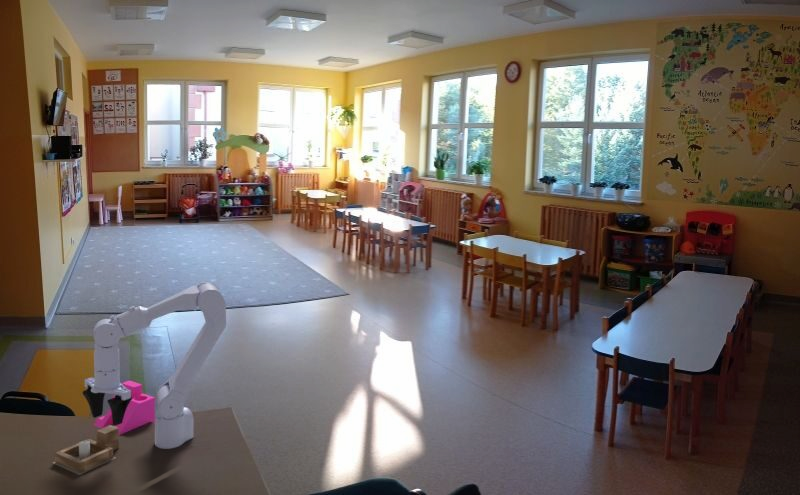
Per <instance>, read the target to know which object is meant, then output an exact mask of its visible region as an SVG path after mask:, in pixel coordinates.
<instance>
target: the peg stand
mask: <svg viewBox="0 0 800 495" xmlns="http://www.w3.org/2000/svg"><path fill="white" fill-rule="evenodd" d="M78 443H79V455H78V456H76V457H75V458H78V459H80V460H82V459H84V458H87V457H89V456H91V455H93V454H94V453H91V452H90V441H85V440H82V441H80V442H78ZM115 459H117V457H116V456H113V458H112V459H110V460H108V461H106V462H104V463H101V464H99V465H97V466H95V467H93V468H91V469H88V470H86V471H84V472H82V473H78V472H75V471H73V470H71V469H69V468H66V467H64V466H62V465H60V464H57V463H55V461H53V462H52V464H53V465H56V466H58V467H60V468H62V469H64V470H67V471H69V472H72V473H73V474H76V475H78V476H80V475H83V474H85V473H87V472H89V471H91V470H93V469H96V468H98V467H99V466H100V467H101V466H102V465H104V464H107V463H108V462H110V461H112V460H115Z"/></svg>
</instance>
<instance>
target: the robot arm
mask: <svg viewBox="0 0 800 495" xmlns="http://www.w3.org/2000/svg"><path fill="white" fill-rule="evenodd" d="M197 307H198V308H199V309H200V311H201V313H202V314H203V317H204V320H205V321H204V324H203V326H202V327H201V329H200V331H199V332H198V334H197V335H196V337H195V339H194V340H193V342H192V343H191V345H190V347H189V348H188V350H187V352H186V353H185V355H184V357H183V358H182V360H181V362H180V363H179V365H178V367H177V368H176V370H175V372H174V373H173V374H171V375H170V376H168V378H167V380H165V382H164V383H162V384H161V385H159V387H157V390H156V392H155V400H156V402H157V408H156V410H155V423H154V445H155V446H156V448H159V449H164V450H165V449H167V450H168V449H169V450H170V449H174V448H177V447H180V446H182V445H183V444H185V442H188V441H190V440H191V439H193V438H194V431H195V430H194V415H193V412H192V411H191V410H190V409H189V408H188V407H186V406H185V402H186V399H187V397H188V396H189V392H190V388H191V385H192V383H193V381H194V380H195V378H196V376H197V375H198V373H199V372H200V370H201V368H202V367H203V364H204V363H205V362H206V360H207V359H208V357H209V355H210V354H211V352H212V350H213V349H214V347H215V345H216V344H217V341H218V340H219V339H220V337H221V336H222V333H223V332H224V330H225V329H226V327H227V302H226V301H225V299H224V296H223V294H222V293H221V292H220V291H219V288H218V286H217V285H215V283H213V282H210V281H204V282H202V283H200V284H198V285H192V286H190V287H188V288H185V289H184V290H182V291H179V292H177V293H176V294H174V295H172V296H169V297H168V298H165V299H163V300H161V301H158V302H156V303H155V304H152V305H151V306H149V307H145V306H141V305H139V306H135V305H131V306H130V307H128V309H129V310H127V311H125V312H122V313H120V314H117V315H114V314H112V315H110V316H109V318H104V319H103V318H102V319H101V320H99V321H98V322H97V323H96V324H95V325H94V328H93V340H94V347H93V348H94V350H93V362H94V363H93V367H94V368H93V372H94V374H93V375H94V376H93V377H88V378H86V379H84V387H85V388H87V389H85V390H83V391H82V396H83V397H84V398H85V399H86V401H87V404H88V406H89V409H90V412H91V416H92V418H94V419H97V418H99V417H100V416H101V417H102V416H103V413H104V412H103V411H104V400H105V395H106V394H109V395H112V396H115V398H112V397H111V398H112V399H111V398H110V399H107V403H108V405H109V409H110V408H111V412H112V421H113V424H112V426H114V425H115V426H116V425H118V424H121V423H122V421H123V418H124V414H125V411H126V409H127V406H128V404H129V403H130V401H131V400H132V396H131V391H130V390H128V389H126V388H125V387H124V386H123V385H122V382H121V379H120V378H121V370H120V369H121V368H120V367H121V366H120V363H121V362H120V361H121V360H120V358H121V357H120V348H119V341H120V339H124V338H127V337H129V336H132V335H133V334H135V333H138V332H140V331H142V330H145V329H147V328H150V326H151V323H152V322H153V321H154V320H156V319H159V318H161V317H164V316H166V315H169V314H171V313H174V312H177V311H179V310H181V309H187V310H191V311H197Z"/></svg>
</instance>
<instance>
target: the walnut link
mask: <svg viewBox="0 0 800 495" xmlns="http://www.w3.org/2000/svg"><path fill="white" fill-rule="evenodd" d="M119 436H120V435H119V428H118V427H115V426H114V425H113V424H111V425H109V426H107V427H104V428H99V429H97V430H96V440H93V439H90V438H88V439H85V440H84V441H90V452H91V453H94V454H93V455H91V456H89V457H87V458H84V459H82V460H80V459H78V458H75V457H76V456H78V455H79V443H80V442H78V443H75V444H73V445H70V446H68V447H65V448H63V449H61V450H59V451H56V452H54V453H55V454H54V458H55V461H54V462H55V463H57V464H60V465H62V466H64V467H66V468H69V469H71V470H73V471H75V472H78V473H82V472H84V471H86V470H88V469H91V468H93V467H95V466H97V465H99V464H101V463H104V462H106V461H108V460H110V459H112V458H113V457H114V452H115V451H116V450H118V449H119V448H120V437H119ZM104 464H105V463H104Z"/></svg>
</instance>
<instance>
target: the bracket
mask: <svg viewBox="0 0 800 495" xmlns="http://www.w3.org/2000/svg"><path fill="white" fill-rule="evenodd" d="M121 384H122V385H123V386H124V387H125V388H126V389H128V390H130V391H131V396H132V400H131V401H130V403H129V404H128V406H127V409H126V411H125V414H124V418H123V421H122V423H121V424H118V425H116V426H115V425H113V421H112V412H111V408H110V407H109V409H108V410H107V412H106V414H105V415H102V416H101V417H100V416H99V417H97V418H96V420H95V422H94V423H93V426H95V427H97V428H99V429H102V428H104V427H107V426H109V425H113V426H115V427H118V428H119V436H121V435H123V434H126V433H127V432H129V431H132V430H134V429H137V428H139V427H141V426H143V425H146V424H149V423H153V424H155V411H156V410H155V409H156V405H155V404H156V403H155V402H156V396H151V395H148V394H146V393H143V384H142V383H138V382H135V381H132V380H127V381H124V382H121ZM112 398H115V396H114V395H112V397H111V398H110V399H112Z"/></svg>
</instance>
